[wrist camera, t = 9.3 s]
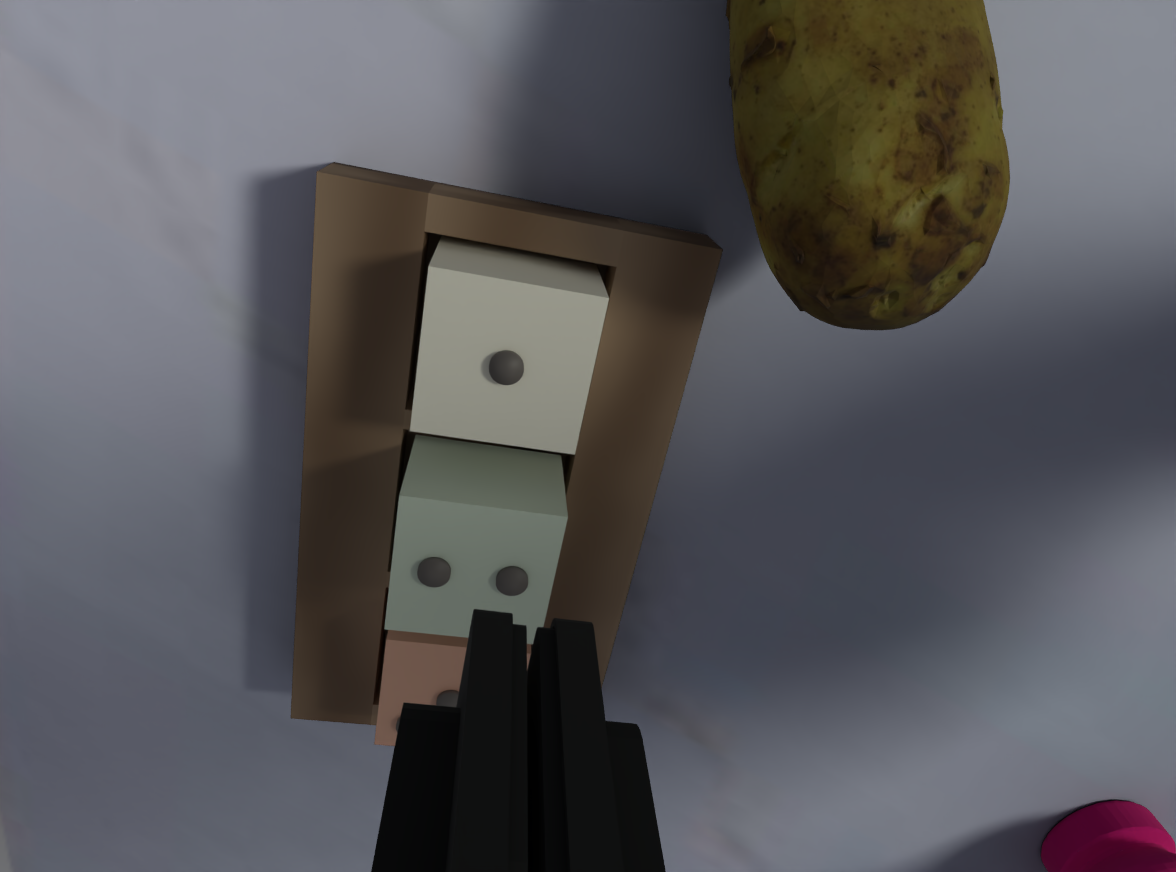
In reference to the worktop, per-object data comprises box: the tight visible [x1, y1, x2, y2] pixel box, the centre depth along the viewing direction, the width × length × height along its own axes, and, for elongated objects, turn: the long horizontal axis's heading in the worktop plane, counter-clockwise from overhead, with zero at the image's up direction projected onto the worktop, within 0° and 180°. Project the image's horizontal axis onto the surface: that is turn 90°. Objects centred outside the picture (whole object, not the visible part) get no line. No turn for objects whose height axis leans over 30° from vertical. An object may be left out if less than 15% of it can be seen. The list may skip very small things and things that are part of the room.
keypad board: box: [291, 162, 723, 725], centre depth 28 cm, size 12×21×2 cm, turn 169°
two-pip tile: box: [384, 435, 568, 644], centre depth 25 cm, size 5×5×4 cm
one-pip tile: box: [410, 236, 609, 455], centre depth 24 cm, size 5×5×4 cm
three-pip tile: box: [374, 630, 531, 746], centre depth 29 cm, size 5×5×4 cm
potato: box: [726, 0, 1010, 330], centre depth 20 cm, size 8×13×8 cm, turn 171°
